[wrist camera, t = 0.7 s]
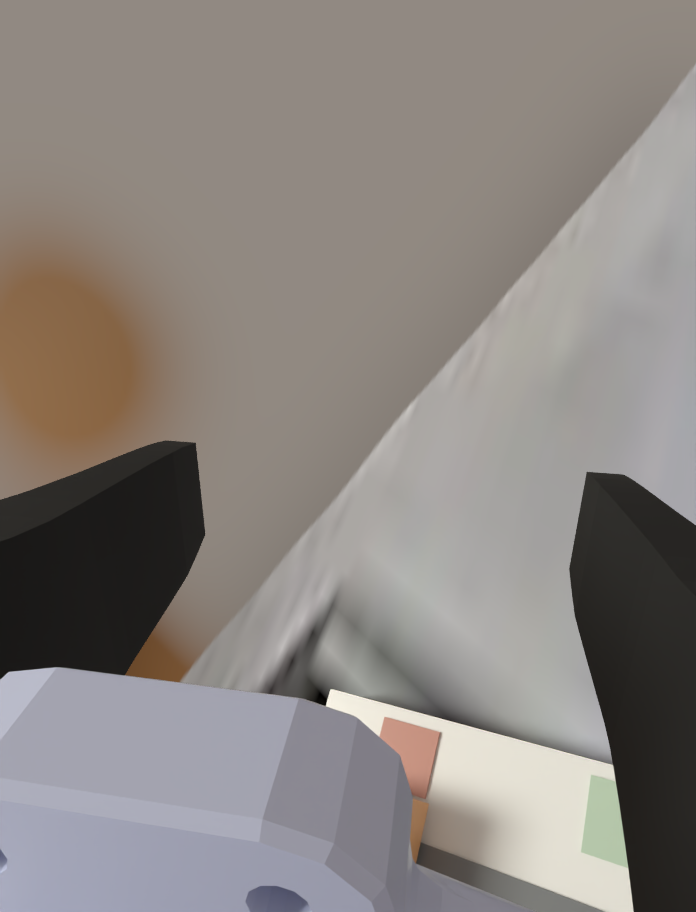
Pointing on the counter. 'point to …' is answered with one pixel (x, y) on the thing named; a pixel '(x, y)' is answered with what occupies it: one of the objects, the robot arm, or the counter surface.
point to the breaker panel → (508, 811)
